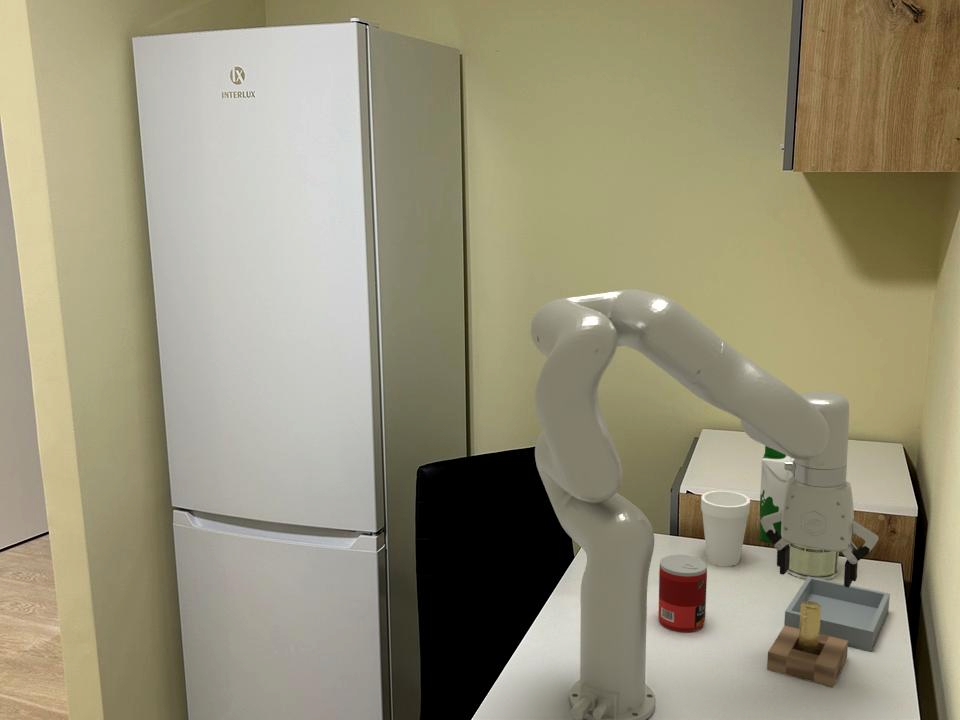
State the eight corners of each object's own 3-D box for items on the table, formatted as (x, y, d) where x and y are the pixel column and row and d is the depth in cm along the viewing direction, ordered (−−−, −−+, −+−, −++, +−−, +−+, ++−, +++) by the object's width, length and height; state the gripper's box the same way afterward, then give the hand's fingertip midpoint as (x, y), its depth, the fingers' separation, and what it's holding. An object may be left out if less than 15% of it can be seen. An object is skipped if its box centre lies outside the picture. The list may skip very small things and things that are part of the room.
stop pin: (814, 670, 147) (818, 611, 144) (795, 665, 148) (798, 607, 146) (819, 661, 149) (823, 603, 147) (800, 656, 151) (803, 599, 149)
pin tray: (871, 651, 152) (873, 631, 151) (784, 630, 159) (785, 611, 158) (888, 611, 165) (889, 593, 164) (806, 593, 172) (807, 576, 172)
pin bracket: (833, 687, 142) (834, 669, 141) (767, 669, 147) (767, 651, 146) (847, 657, 150) (848, 640, 149) (783, 641, 155) (784, 625, 155)
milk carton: (763, 527, 204) (768, 439, 200) (807, 534, 200) (812, 444, 195) (754, 541, 196) (758, 450, 192) (799, 549, 192) (804, 456, 188)
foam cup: (691, 552, 191) (693, 492, 189) (734, 548, 193) (736, 488, 190) (711, 572, 182) (713, 508, 180) (755, 567, 184) (758, 505, 181)
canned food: (705, 634, 158) (708, 574, 156) (657, 630, 160) (659, 571, 157) (704, 613, 165) (706, 555, 163) (658, 610, 167) (659, 552, 165)
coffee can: (772, 562, 186) (775, 495, 183) (817, 556, 189) (821, 489, 186) (802, 584, 176) (806, 513, 173) (849, 577, 179) (854, 507, 176)
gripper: (755, 472, 144) (753, 575, 147) (876, 489, 134) (870, 599, 138) (769, 458, 150) (766, 557, 153) (885, 474, 141) (879, 579, 144)
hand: (815, 577), depth 146 cm, fingers open, 9 cm apart
